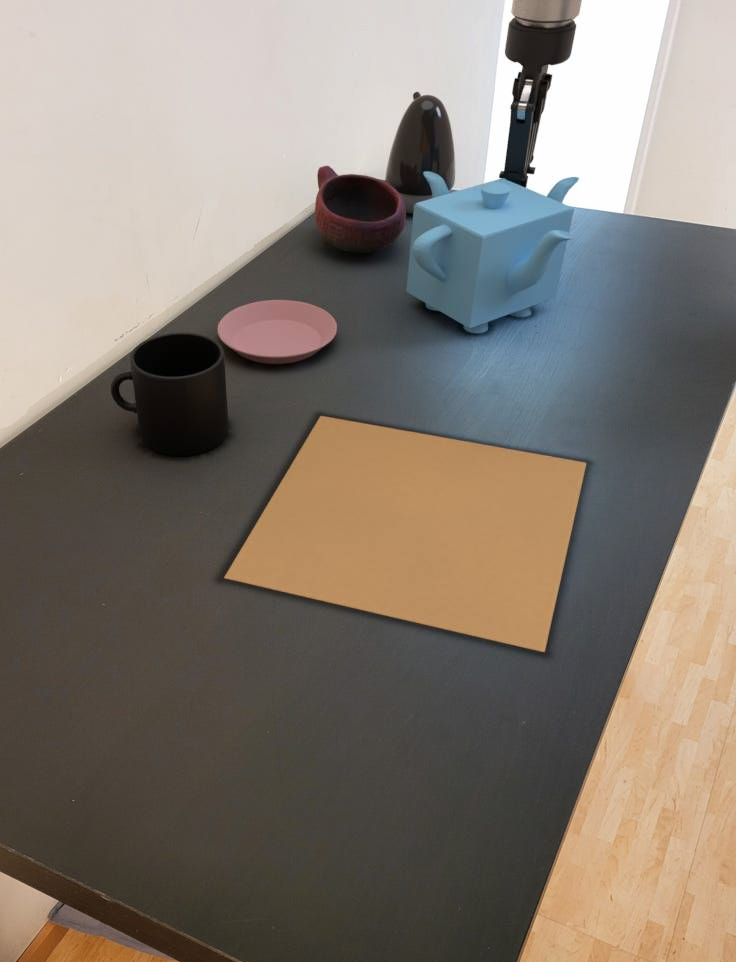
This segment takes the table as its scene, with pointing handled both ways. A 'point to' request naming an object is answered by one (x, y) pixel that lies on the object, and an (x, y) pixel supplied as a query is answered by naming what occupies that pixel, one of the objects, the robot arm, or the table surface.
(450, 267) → the teakettle
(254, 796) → the table surface
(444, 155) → the dark brown tall dome
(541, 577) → the trivet mat
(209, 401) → the mug
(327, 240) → the bowl
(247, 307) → the plate
